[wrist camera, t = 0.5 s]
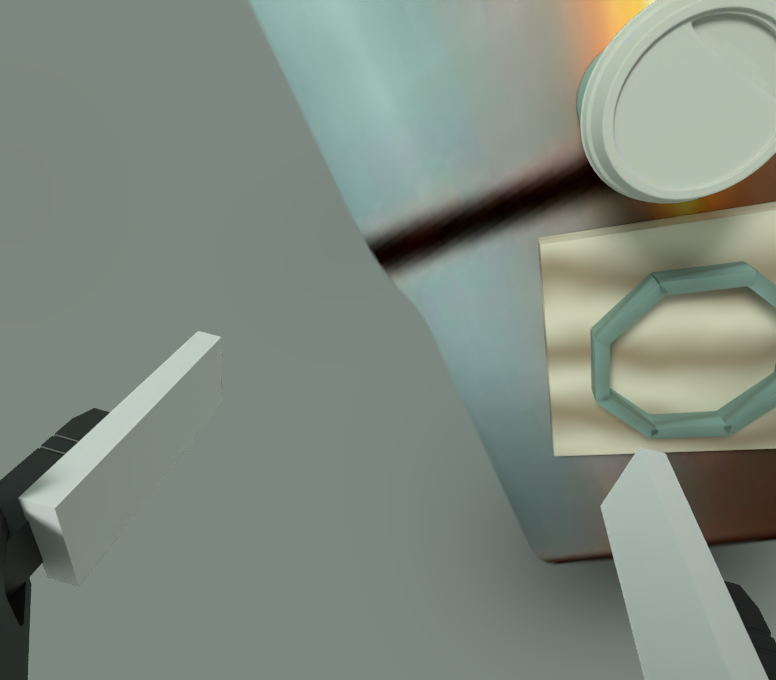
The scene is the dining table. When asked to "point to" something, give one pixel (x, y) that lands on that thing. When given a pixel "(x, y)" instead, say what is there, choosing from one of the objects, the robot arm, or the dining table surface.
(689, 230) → the serving board
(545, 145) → the dining table surface
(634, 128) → the coffee cup
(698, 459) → the dining table surface
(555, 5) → the dining table surface
